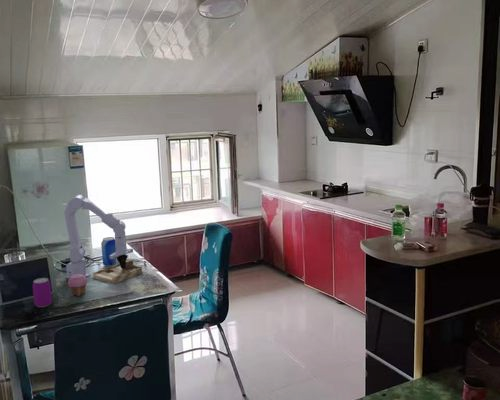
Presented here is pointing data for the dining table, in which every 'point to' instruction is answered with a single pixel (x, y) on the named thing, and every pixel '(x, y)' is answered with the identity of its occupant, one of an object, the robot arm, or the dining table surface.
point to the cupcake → (78, 284)
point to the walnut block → (129, 264)
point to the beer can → (108, 251)
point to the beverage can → (42, 292)
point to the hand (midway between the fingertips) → (122, 268)
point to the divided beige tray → (116, 273)
